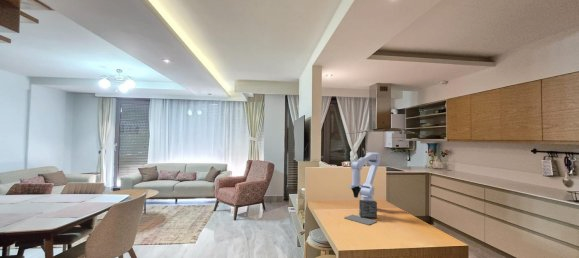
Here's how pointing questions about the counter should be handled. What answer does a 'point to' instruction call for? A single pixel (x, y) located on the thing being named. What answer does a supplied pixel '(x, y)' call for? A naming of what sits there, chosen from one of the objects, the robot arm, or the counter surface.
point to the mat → (360, 219)
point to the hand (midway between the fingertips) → (355, 197)
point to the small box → (368, 209)
